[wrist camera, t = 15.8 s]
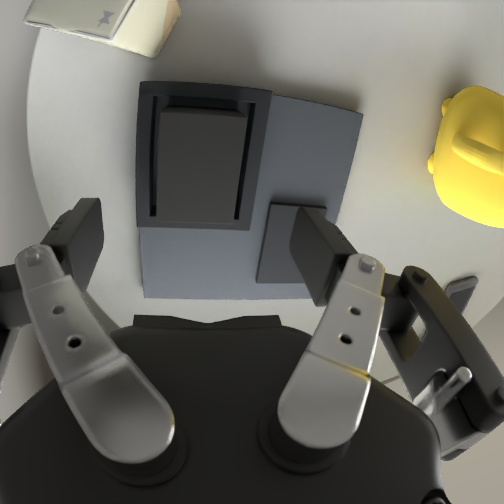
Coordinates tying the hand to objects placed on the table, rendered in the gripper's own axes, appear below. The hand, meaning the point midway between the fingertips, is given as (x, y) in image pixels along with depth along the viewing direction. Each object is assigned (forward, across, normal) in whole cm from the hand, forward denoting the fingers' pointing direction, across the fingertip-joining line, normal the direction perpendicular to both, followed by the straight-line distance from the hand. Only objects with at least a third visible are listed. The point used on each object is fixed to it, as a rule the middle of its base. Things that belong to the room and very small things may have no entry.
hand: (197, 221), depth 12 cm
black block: (+11, 0, 0) cm, 11 cm away
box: (+12, +5, -10) cm, 17 cm away
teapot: (+12, -27, -5) cm, 30 cm away
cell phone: (+12, -40, +20) cm, 46 cm away
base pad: (+12, -4, +5) cm, 14 cm away
